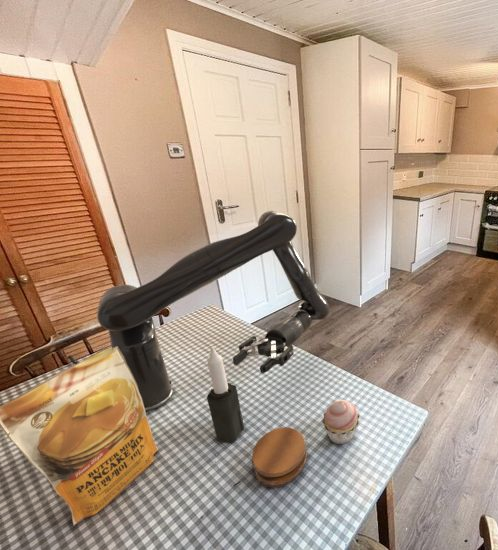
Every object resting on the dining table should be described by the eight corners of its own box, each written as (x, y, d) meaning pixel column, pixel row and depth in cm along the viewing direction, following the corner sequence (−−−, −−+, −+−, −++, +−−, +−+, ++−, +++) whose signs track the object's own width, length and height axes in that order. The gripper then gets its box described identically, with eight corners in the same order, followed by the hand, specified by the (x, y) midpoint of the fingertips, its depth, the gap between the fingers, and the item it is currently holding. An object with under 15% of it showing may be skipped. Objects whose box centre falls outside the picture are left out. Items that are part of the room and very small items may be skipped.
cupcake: (368, 434, 74) (369, 402, 70) (337, 458, 68) (336, 424, 64) (345, 411, 80) (344, 381, 76) (315, 431, 74) (312, 399, 71)
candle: (233, 443, 71) (214, 355, 62) (214, 439, 72) (192, 352, 63) (245, 425, 76) (229, 341, 66) (227, 422, 77) (209, 338, 67)
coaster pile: (243, 485, 62) (240, 470, 60) (266, 437, 73) (264, 423, 71) (298, 491, 61) (296, 477, 59) (313, 442, 72) (312, 428, 70)
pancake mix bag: (49, 524, 55) (-23, 407, 45) (150, 439, 72) (114, 339, 62) (72, 539, 53) (3, 419, 43) (171, 448, 70) (137, 345, 60)
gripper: (264, 318, 91) (223, 347, 77) (305, 327, 87) (269, 360, 72) (267, 339, 94) (228, 371, 80) (307, 349, 89) (272, 385, 75)
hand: (247, 366), depth 76 cm, fingers open, 8 cm apart
